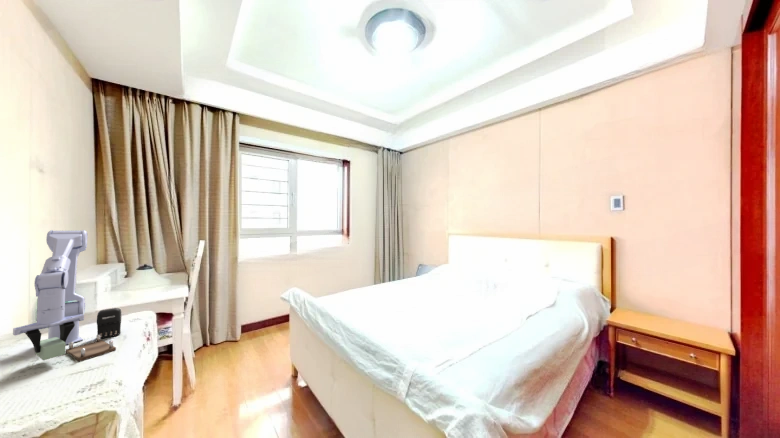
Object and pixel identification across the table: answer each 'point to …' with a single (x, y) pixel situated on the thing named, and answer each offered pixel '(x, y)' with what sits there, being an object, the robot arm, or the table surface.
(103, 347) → the chassis
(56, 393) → the table surface
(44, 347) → the pale green block
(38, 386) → the table surface
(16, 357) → the table surface
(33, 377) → the table surface
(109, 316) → the battery charger
